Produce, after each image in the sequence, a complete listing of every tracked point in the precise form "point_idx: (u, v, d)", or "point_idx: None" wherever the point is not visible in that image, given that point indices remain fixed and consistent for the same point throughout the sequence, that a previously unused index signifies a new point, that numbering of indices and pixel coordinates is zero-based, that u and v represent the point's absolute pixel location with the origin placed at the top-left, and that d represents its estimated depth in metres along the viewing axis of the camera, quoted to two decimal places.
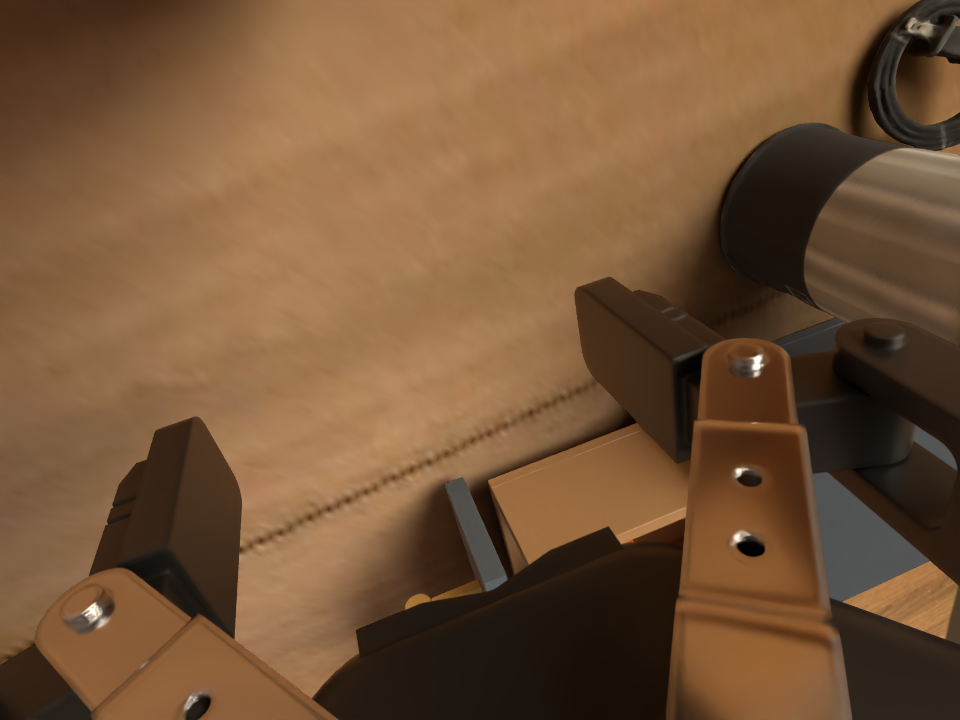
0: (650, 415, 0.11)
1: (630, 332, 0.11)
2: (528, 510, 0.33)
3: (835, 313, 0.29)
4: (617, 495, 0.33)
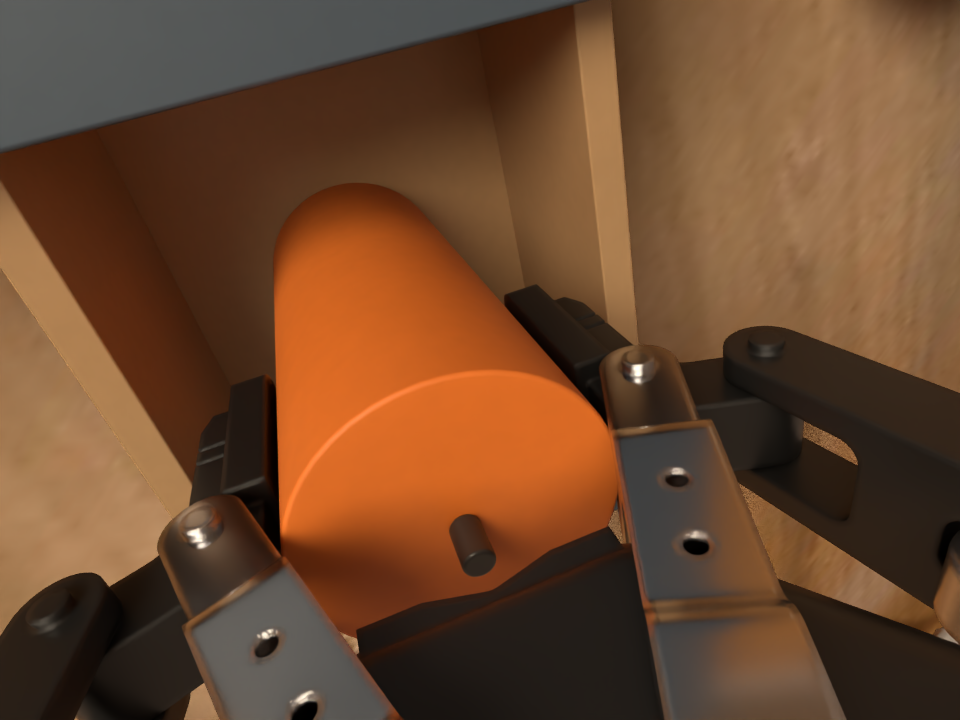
0: None
1: (544, 338, 0.11)
2: None
3: None
4: None
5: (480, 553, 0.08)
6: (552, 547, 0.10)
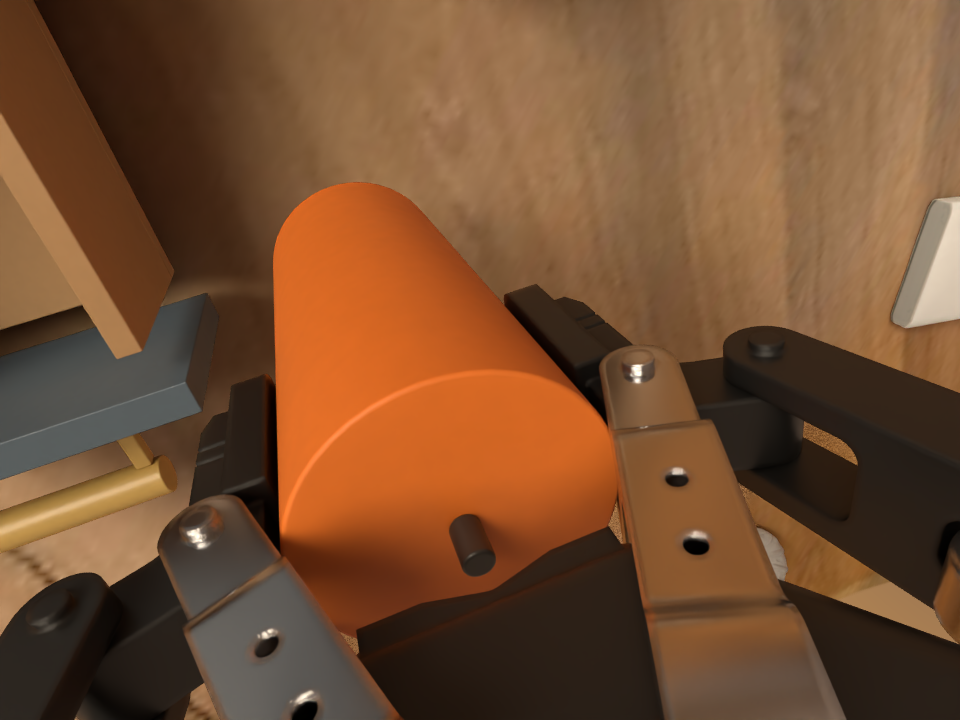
0: None
1: (544, 338, 0.11)
2: None
3: None
4: None
5: (480, 553, 0.08)
6: (552, 547, 0.10)
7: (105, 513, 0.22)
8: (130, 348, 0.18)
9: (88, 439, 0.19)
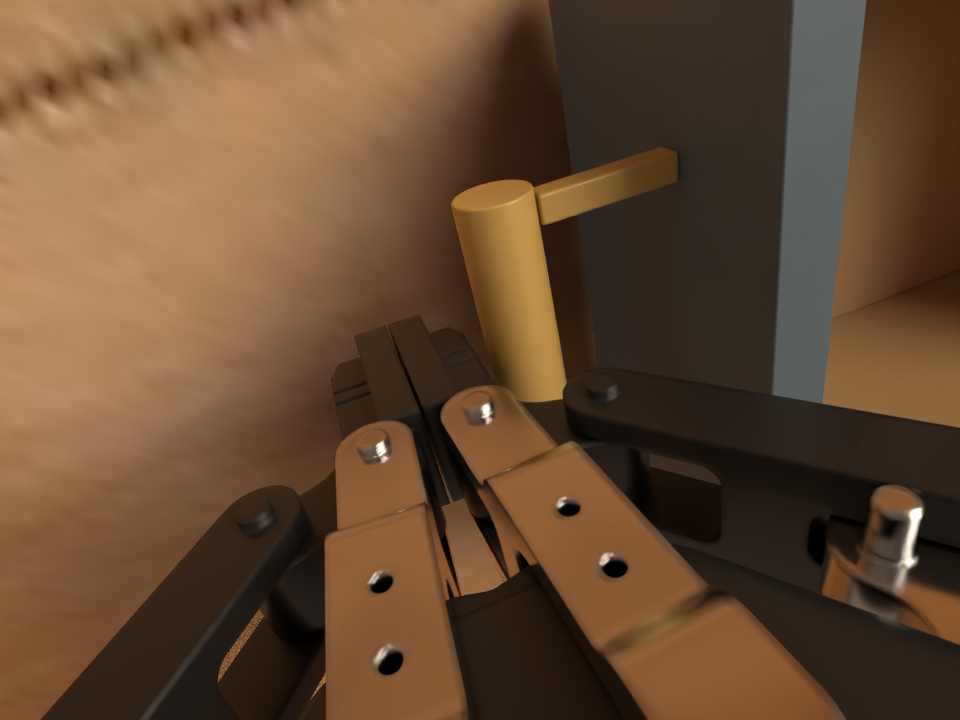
0: (435, 452, 0.11)
1: (408, 374, 0.11)
2: None
3: None
4: None
5: None
6: None
7: None
8: None
9: None
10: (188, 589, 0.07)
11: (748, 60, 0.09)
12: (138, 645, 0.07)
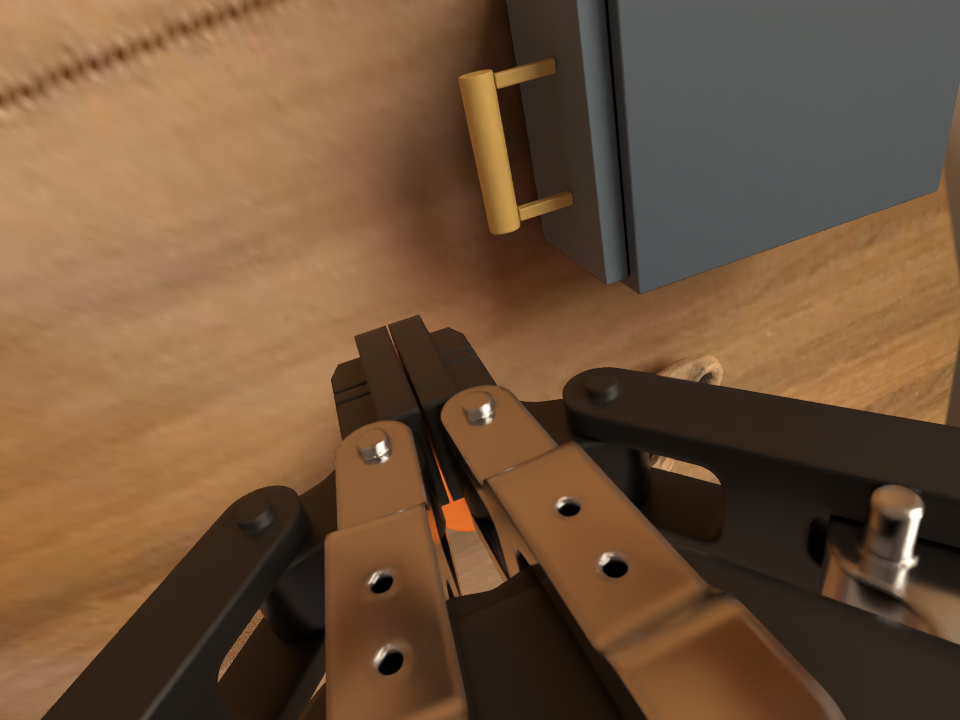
0: (435, 452, 0.11)
1: (408, 374, 0.11)
2: None
3: None
4: None
5: None
6: (462, 517, 0.29)
7: (493, 184, 0.27)
8: None
9: (607, 216, 0.27)
10: (189, 589, 0.07)
11: (568, 15, 0.24)
12: (138, 645, 0.07)
